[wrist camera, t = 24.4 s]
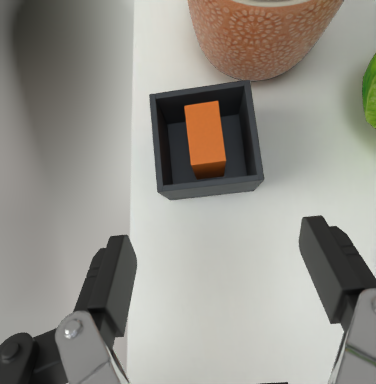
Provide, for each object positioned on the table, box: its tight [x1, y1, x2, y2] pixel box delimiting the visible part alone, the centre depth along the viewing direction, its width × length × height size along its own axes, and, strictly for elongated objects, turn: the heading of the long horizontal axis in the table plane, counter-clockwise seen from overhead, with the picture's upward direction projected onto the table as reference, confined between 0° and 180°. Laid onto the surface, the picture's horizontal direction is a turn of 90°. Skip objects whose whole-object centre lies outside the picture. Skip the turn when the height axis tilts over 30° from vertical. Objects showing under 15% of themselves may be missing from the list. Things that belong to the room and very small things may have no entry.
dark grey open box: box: [149, 80, 264, 200], centre depth 40 cm, size 14×14×10 cm
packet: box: [184, 101, 226, 180], centre depth 39 cm, size 4×8×10 cm, turn 6°
